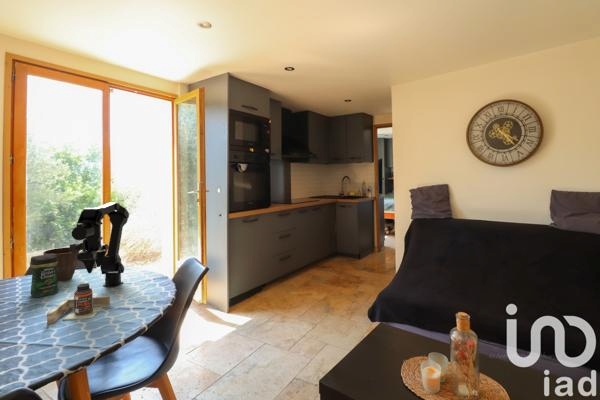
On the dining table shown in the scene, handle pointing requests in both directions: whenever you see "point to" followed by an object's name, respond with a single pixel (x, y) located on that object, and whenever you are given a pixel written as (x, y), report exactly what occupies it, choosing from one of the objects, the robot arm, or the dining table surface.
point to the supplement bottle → (83, 299)
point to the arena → (69, 304)
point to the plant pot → (64, 263)
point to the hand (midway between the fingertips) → (94, 269)
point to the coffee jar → (44, 275)
